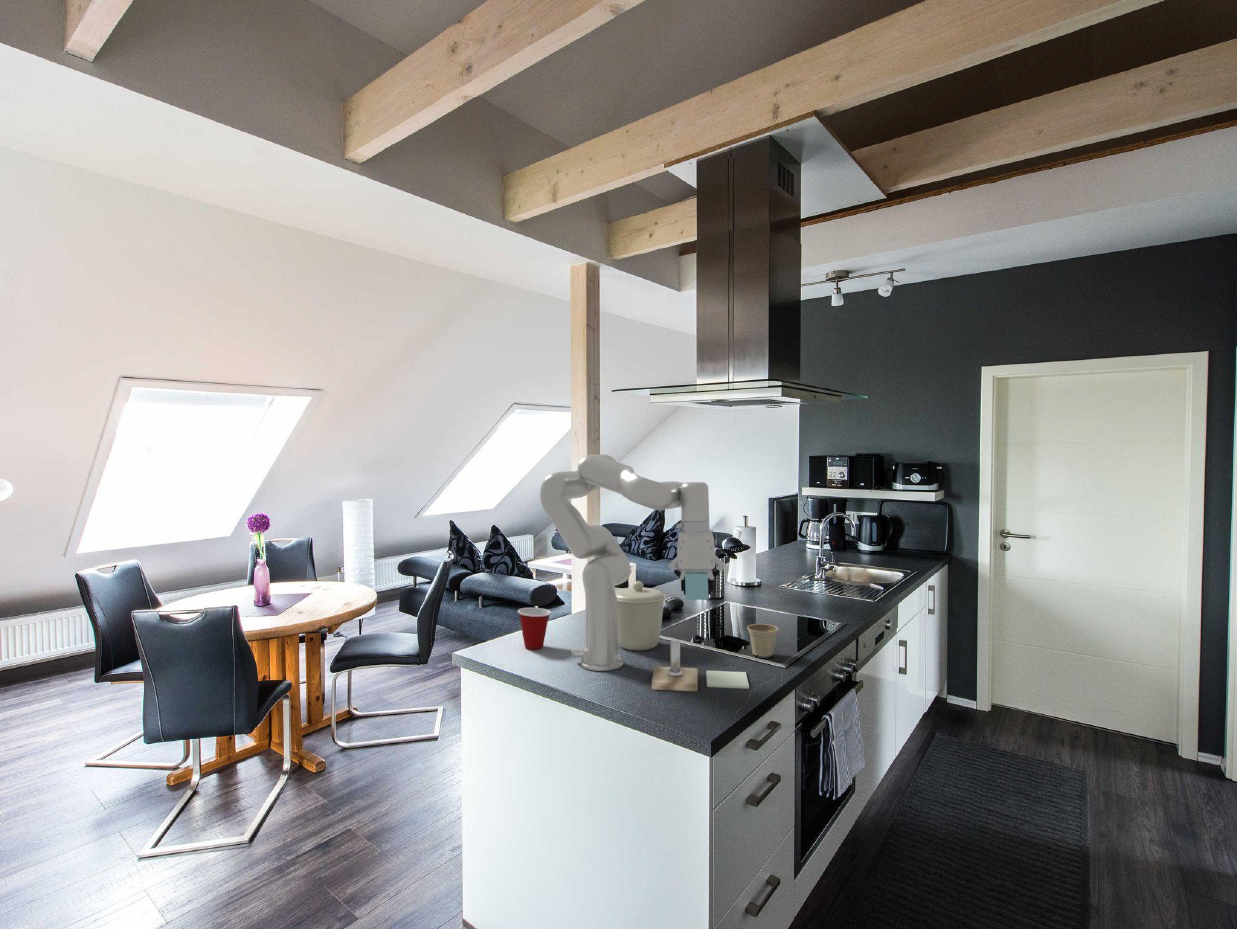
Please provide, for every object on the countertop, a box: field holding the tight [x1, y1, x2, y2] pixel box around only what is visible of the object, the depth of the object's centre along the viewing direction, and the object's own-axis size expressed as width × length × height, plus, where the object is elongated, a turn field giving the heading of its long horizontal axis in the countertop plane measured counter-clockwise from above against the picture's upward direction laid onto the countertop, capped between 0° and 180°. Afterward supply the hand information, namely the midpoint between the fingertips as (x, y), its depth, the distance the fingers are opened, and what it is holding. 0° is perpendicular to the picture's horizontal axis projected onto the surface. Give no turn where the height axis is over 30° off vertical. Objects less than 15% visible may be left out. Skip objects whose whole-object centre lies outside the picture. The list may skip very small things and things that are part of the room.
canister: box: [615, 580, 667, 652], centre depth 202 cm, size 18×18×21 cm
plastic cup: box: [517, 607, 552, 650], centre depth 201 cm, size 11×11×12 cm
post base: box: [651, 666, 699, 692], centre depth 170 cm, size 12×12×2 cm
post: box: [668, 639, 683, 677], centre depth 170 cm, size 4×4×9 cm
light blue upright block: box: [685, 570, 710, 601], centre depth 170 cm, size 6×6×7 cm
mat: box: [705, 670, 750, 690], centre depth 171 cm, size 11×11×1 cm
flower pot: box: [746, 623, 779, 656], centre depth 192 cm, size 9×9×9 cm
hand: (697, 593), depth 170 cm, fingers closed on light blue upright block, 5 cm apart
